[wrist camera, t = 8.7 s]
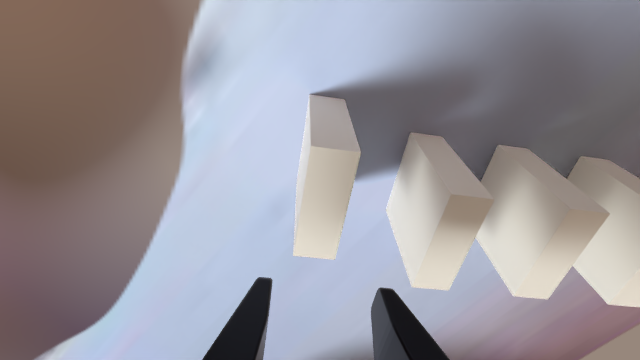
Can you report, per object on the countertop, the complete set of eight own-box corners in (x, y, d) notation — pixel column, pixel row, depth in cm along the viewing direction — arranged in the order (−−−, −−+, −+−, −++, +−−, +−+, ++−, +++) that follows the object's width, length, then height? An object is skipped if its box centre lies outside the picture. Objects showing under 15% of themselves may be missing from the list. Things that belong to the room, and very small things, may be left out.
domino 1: (344, 99, 15) (361, 152, 11) (327, 185, 18) (334, 259, 13) (309, 94, 15) (310, 146, 11) (296, 181, 18) (293, 255, 13)
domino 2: (442, 136, 17) (494, 199, 12) (413, 212, 19) (448, 290, 14) (410, 132, 16) (451, 194, 12) (385, 209, 19) (411, 287, 14)
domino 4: (608, 159, 18) (717, 226, 13) (562, 229, 20) (640, 307, 15) (580, 155, 17) (680, 222, 13) (537, 226, 20) (608, 304, 15)
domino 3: (527, 148, 17) (610, 213, 12) (490, 221, 19) (547, 299, 15) (497, 144, 17) (570, 208, 12) (463, 218, 19) (513, 296, 15)
